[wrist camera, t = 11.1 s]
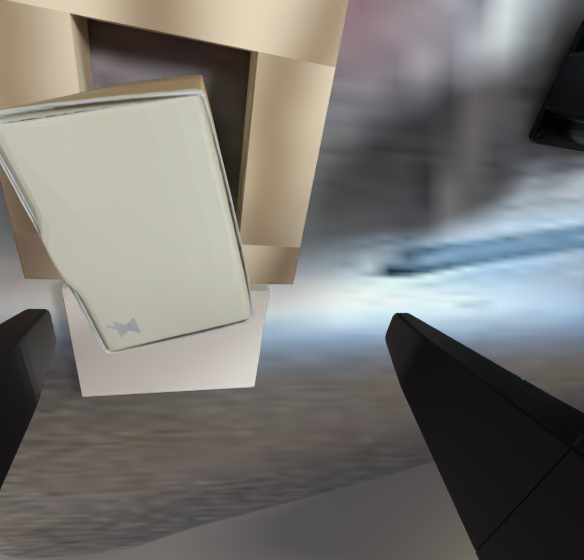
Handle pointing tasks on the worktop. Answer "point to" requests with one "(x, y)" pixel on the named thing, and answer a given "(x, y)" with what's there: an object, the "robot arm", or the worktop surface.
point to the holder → (259, 105)
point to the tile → (169, 356)
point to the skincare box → (133, 208)
